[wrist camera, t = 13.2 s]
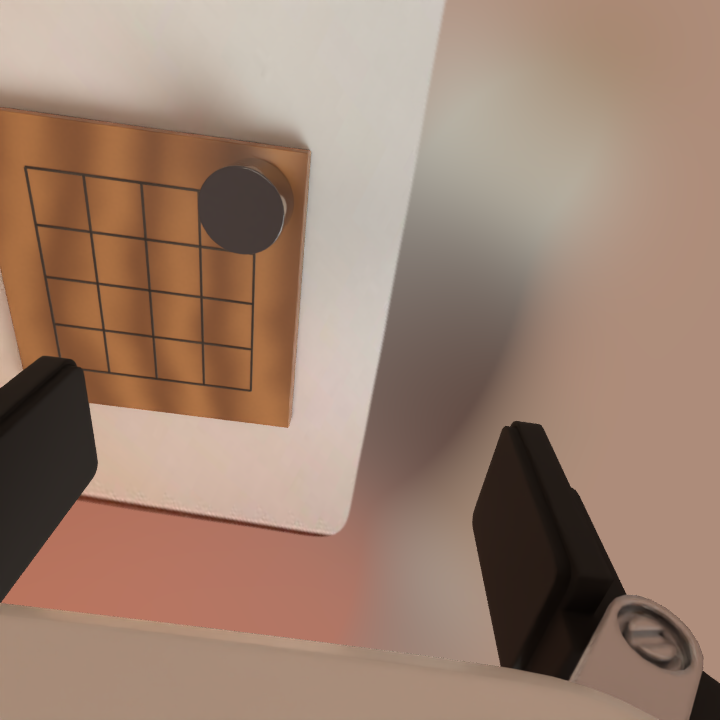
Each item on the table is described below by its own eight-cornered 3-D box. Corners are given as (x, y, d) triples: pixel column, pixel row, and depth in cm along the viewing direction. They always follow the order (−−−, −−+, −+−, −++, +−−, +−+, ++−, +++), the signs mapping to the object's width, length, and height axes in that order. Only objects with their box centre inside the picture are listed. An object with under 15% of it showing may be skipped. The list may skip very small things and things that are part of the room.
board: (311, 150, 30) (308, 153, 29) (291, 417, 40) (288, 428, 39) (-19, 104, 30) (-39, 104, 29) (40, 385, 39) (28, 396, 38)
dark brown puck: (271, 144, 29) (258, 150, 26) (307, 221, 31) (299, 236, 28) (201, 177, 30) (180, 187, 27) (240, 250, 32) (224, 267, 29)
